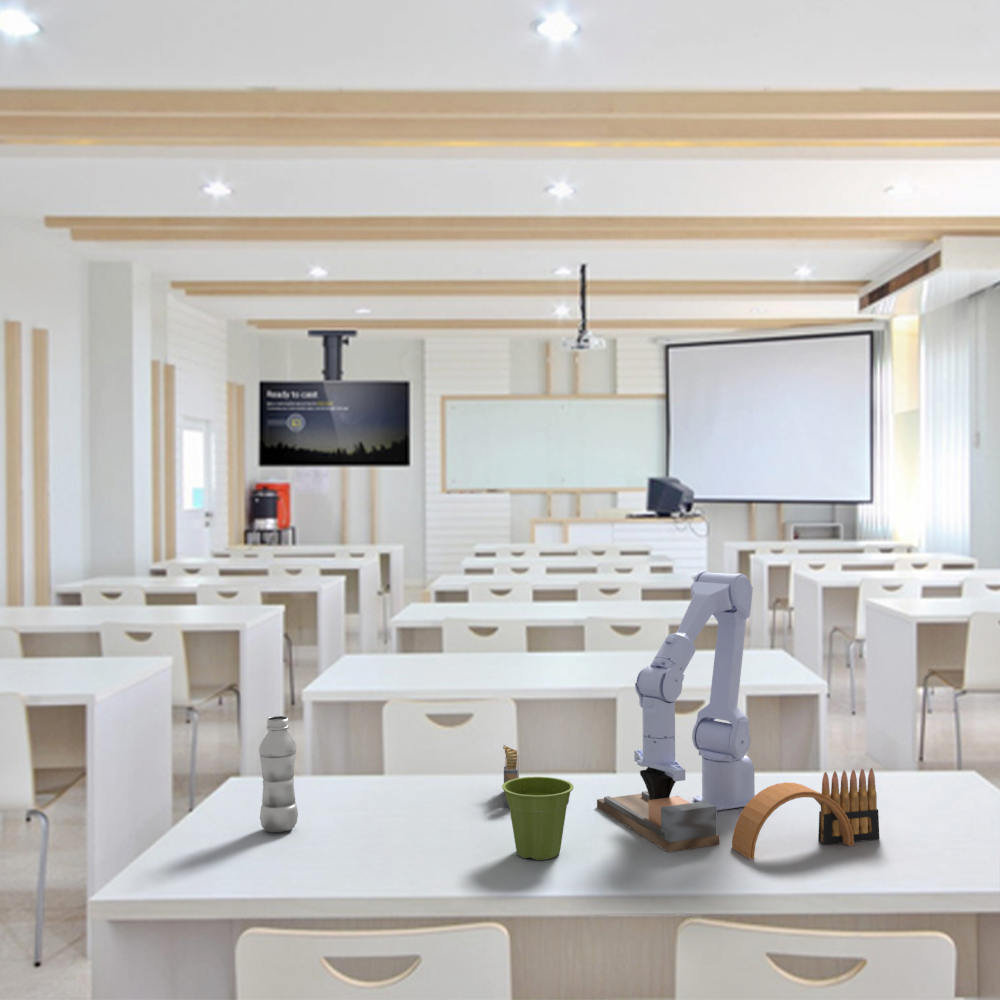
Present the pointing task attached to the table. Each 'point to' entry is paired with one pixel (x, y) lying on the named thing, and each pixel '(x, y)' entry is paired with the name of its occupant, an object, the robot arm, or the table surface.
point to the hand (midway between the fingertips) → (659, 811)
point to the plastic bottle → (278, 777)
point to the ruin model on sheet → (510, 768)
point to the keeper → (663, 802)
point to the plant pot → (538, 814)
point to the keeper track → (647, 833)
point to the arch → (769, 802)
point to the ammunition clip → (850, 808)
